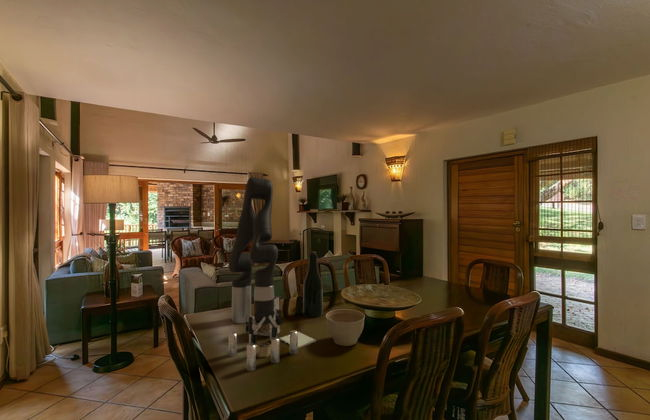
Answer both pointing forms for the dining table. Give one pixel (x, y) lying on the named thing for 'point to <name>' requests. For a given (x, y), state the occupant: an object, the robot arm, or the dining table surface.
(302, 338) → the pad
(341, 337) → the planter bowl
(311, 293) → the beer bottle
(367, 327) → the dining table surface
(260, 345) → the brass nut
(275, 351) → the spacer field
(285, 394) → the dining table surface
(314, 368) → the dining table surface
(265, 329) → the coffee box
